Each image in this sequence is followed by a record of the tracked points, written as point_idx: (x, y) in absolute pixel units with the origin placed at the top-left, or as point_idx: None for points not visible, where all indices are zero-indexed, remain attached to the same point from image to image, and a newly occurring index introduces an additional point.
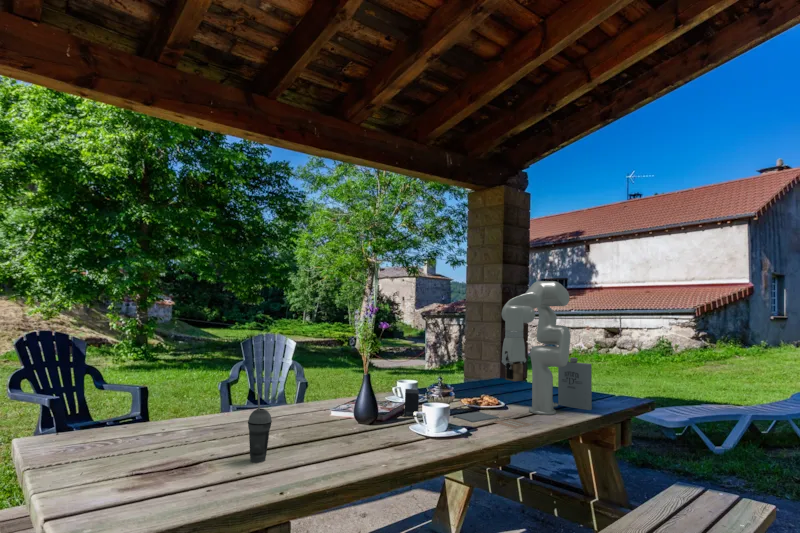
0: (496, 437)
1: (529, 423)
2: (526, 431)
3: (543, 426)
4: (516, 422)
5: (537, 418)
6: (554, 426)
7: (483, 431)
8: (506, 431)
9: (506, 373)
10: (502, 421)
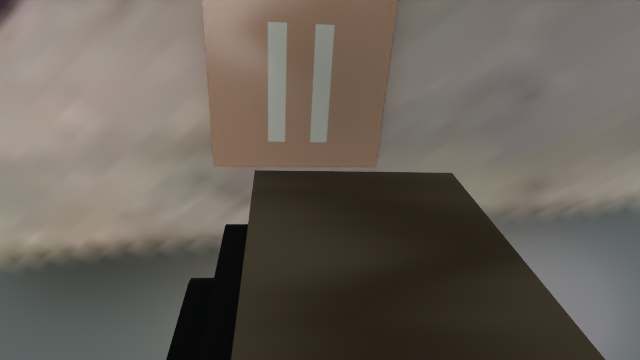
0: (21, 193)
1: (378, 138)
2: None
3: None
4: (336, 81)
5: (592, 39)
6: None
7: (19, 74)
8: (161, 143)
9: (215, 280)
10: (278, 9)
